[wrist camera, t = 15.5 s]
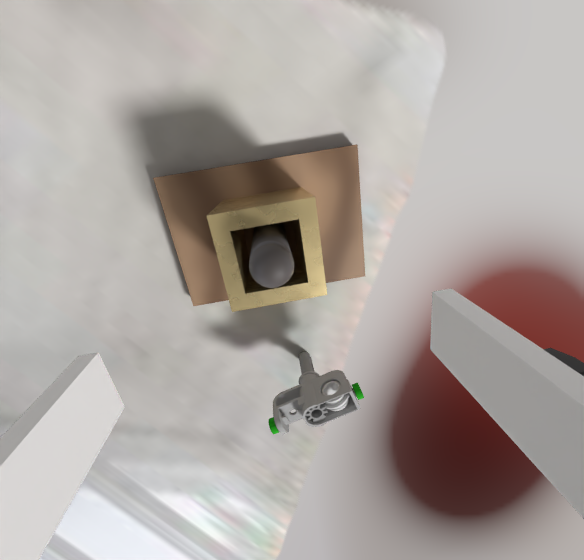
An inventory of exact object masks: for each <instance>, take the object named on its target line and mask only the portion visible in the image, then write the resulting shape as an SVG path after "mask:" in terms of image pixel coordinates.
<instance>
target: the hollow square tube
mask: <svg viewBox="0 0 584 560" xmlns="http://www.w3.org/2000/svg"><path fill="white" fill-rule="evenodd" d="M207 220H208V223H209V227H210V231H211V235H212V238H213V242H214V246H215V250H216V253H217V257H218V261H219V265H220V268H221V272H222V276H223V280H224V283H225V287H226V291H227V295H228V298H229V302H230V306H231V310H232V312H235V311H240V310H246V309H251V308H257V307H263V306H268V305H274V304H279V303H285V302H290V301H296V300H301V299H307V298H312V297H318V296H323V295H327V289H326V281H325V273H324V265H323V257H322V248H321V240H320V232H319V224H318V216H317V208H316V199H315V196H313V195H312V194H310V193H309V192H307V191H306V190H304V189H303V188H302V187H298V188H292V189H286V190H280V191H275V192H269V193H263V194H257V195H251V196H245V197H240V198H234V199H228V200H222V201H221V202H220V203H219V204H218V205H217V206H216V207H215V208H214V209H213V210H212V211H211V212H210V213H209V214H208V215H207ZM286 221H292V223H293V230H294V236H295V243H296V249H297V251H296V252H291V253H292V257H293V260H294V271H293V274H292V276H291V278H290V279H289V280H288V281H287V282H286V283H285V284H284V285H282V286H279V287H276V288H267V287H264V286H262V285H260V284H258V283H257V282H256V281H255V280H254V279H253V277H252V275H251V273H250V269H249V261H250V257H249V253H248V248H247V244H246V239H245V235H244V230H243V229H246V228H252V227H257V226H263V225H269V224H274V223H280V222H286Z"/></svg>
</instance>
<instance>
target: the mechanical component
mask: <svg viewBox="0 0 584 560" xmlns="http://www.w3.org/2000/svg"><path fill="white" fill-rule="evenodd" d="M299 361H300V366H301V372H302V375H301V376H300V378H299V385H298V386H295V387H293V388H291V389H288V390H286V391H283V392H281V393H279V394H278V395H277V396H276V397H275V399H274V401H273V416H274V417H273V418H270V419H269V426H270V429H271V432H272V433H273V434H276V433H278V432H280V433H281V434H282V435H283V434H285V433H288V432H289V424H290V423H292V422H295V421H297V420H300V419H302V418H303V419H304V420H305V422H306V424H307V425H309V426H313V427H318V426H322V425H324V424H326V423H327V422H329V421H331V420H334V419H336V418H339V417H341V416H344V415H346V414H349V413H351V412H354V411H356V410H358V409H360V406H359V403H358V401H357V399H356V397H357V398H358V400H359V399H362V398H364V396H363V394H362V391H361V389H360V387H359V385H358V383H355V384H353V385H352V386H353V388H351V386H350V384H349V381H348V380H347V379H346V377H345V375H344V373H343V372H342V371H340V370H334V371H331V372H329V373H326V374H324V375H322V376H319V374H317V373H316V372H314V368H313V364H312V360H311V357H310V356H309V353H308V352H302V353H300V355H299ZM345 406H346V407H345ZM344 407H345V408H344ZM343 408H344V409H343ZM293 409H295V410H296V412H295V413H291V412H290V411H291V410H293ZM341 409H343V410H341ZM338 410H340V411H338Z"/></svg>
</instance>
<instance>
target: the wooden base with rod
mask: <svg viewBox="0 0 584 560" xmlns="http://www.w3.org/2000/svg"><path fill="white" fill-rule="evenodd" d="M153 179H154V182H155V185H156V188H157V192H158V195H159V198H160V201H161V204H162V207H163V211H164V214H165V217H166V220H167V223H168V226H169V230H170V233H171V236H172V239H173V242H174V245H175V249H176V252H177V255H178V258H179V261H180V265H181V268H182V271H183V274H184V277H185V280H186V284H187V287H188V290H189V293H190V296H191V299H192V303H193V306H197V305H203V304H209V303H214V302H220V301H226V300H229V298H228V295H227V291H226V287H225V283H224V280H223V276H222V272H221V268H220V265H219V261H218V257H217V253H216V250H215V246H214V242H213V238H212V235H211V231H210V227H209V223H208V220H207V215H208V214H209V213H210V212H211V211H212V210H213V209H214V208H215V207H216V206H217V205H218V204H219V203H220V202H221V201H222V200H228V199H234V198H240V197H245V196H251V195H257V194H263V193H269V192H275V191H280V190H286V189H292V188H298V187H302V188H303V189H304V190H306V191H307V192H309V193H310V194H312V195H313V196H315V199H316V208H317V216H318V224H319V232H320V240H321V248H322V257H323V265H324V273H325V281H326V283H328V282H334V281H340V280H345V279H351V278H357V277H362V276H365V265H364V248H363V232H362V215H361V198H360V181H359V165H358V148H357V145H352V146H345V147H339V148H333V149H327V150H321V151H315V152H309V153H303V154H297V155H290V156H284V157H278V158H272V159H266V160H260V161H254V162H248V163H242V164H235V165H229V166H223V167H217V168H211V169H205V170H199V171H193V172H187V173H180V174H174V175H168V176H162V177H156V178H153ZM243 230H244V235H245V239H246V244H247V248H248V253H249V257H250V261H249V269H250V273H251V275H252V277H253V279H254V280H255V281H256V282H257V283H258V284H260V285H262V286H264V287H267V288H276V287H279V286H282V285H284V284H285V283H286V282H287V281H288V280H289V279H290V278H291V276H292V274H293V271H294V260H293V257H292V253H291V252H296V251H297V249H296V243H295V236H294V230H293V223H292V221H286V222H280V223H274V224H269V225H263V226H257V227H252V228H246V229H243Z"/></svg>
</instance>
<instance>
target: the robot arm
mask: <svg viewBox="0 0 584 560" xmlns="http://www.w3.org/2000/svg"><path fill="white" fill-rule="evenodd" d="M430 349H431V350H432V352H433V353H434V354H435V355H436V356H437V357H438V358H439V359H440V361H441V362H442V363H443V364H444V365H445V366H446V367H447V368H448V369H449V370H450V372H451V373H452V374H453V375H454V376H455V377H456V378H457V379H458V380H459V382H460V383H461V384H462V385H463V386H464V387H465V388H466V389H467V390H468V391H469V393H470V394H471V395H472V396H473V397H474V398H475V399H476V400H477V401H478V403H479V404H480V405H481V406H482V407H483V408H484V409H485V410H486V411H487V412H488V413H489V415H490V416H491V417H492V418H493V419H494V420H495V421H496V422H497V424H498V425H499V426H500V427H501V428H502V429H503V430H504V431H505V432H506V434H507V435H508V436H509V437H510V438H511V439H512V440H513V441H514V442H515V443H516V445H517V446H518V447H519V448H520V449H521V450H522V451H523V452H524V453H525V455H526V456H527V457H528V458H529V459H530V460H531V461H532V462H533V463H534V464H535V466H536V467H537V468H538V469H539V470H540V471H541V472H542V473H543V474H544V476H545V477H546V478H547V479H548V480H549V481H550V482H551V483H552V484H553V486H555V488H556V489H557V490H558V491H559V492H560V493H561V494H562V495H563V496H564V498H565V499H566V500H567V501H568V502H569V503H570V504H571V505H572V507H573V508H574V509H576V511H577V512H578V513H579V514H580V515H581V516H582V518H583V519H584V363H583V362H581V361H579V360H578V359H576V358H575V357H572V356H570V355H567V354H565V353H562V352H560V351H557V350H554V349H552V348H548V349H542V348H540V347H539V346H537V345H536V344H534V343H533V342H531V341H529V340H528V339H526V338H525V337H524V336H522V335H521V334H519V333H518V332H516V331H515V330H513V329H512V328H510V327H508V326H507V325H505V324H504V323H502V322H501V321H499V320H498V319H496V318H495V317H493V316H492V315H490V314H489V313H487V312H486V311H484V310H483V309H481V308H480V307H478V306H477V305H475V304H474V303H472V302H471V301H469V300H468V299H466V298H465V297H463V296H462V295H460V294H459V293H457V292H456V291H454V290H453V289H445V290H440V291H434V292H432V318H431V347H430ZM124 407H125V406H124V404H123V402H122V400H121V398H120V396H119V394H118V392H117V390H116V388H115V386H114V384H113V382H112V379H111V377H110V375H109V373H108V371H107V369H106V367H105V365H104V363H103V361H102V359H101V357H100V355H99V353H93V354H87V355H82V356H78V357H77V358H76V359H75V360H74V361H73V362H72V363H71V364H70V365H69V366H68V367H67V368H66V369H65V370H64V372H63V373H62V374H61V375H60V376H59V377H58V378H57V379H56V380H55V381H54V382H53V383H52V384H51V385H50V386H49V387H48V388H47V389H46V390H45V392H44V393H43V394H42V395H41V396H40V397H39V398H38V399H37V400H36V401H35V402H34V403H33V404H32V405H31V406H30V407H29V408H28V409H27V411H26V412H25V413H24V414H23V415H22V416H21V417H20V418H19V419H18V420H17V421H16V422H15V423H14V424H13V425H12V426H11V427H10V428H9V429H8V431H7V432H6V433H5V434H4V435H3V436H2V437H1V438H0V560H39V559H40V557H41V555H42V553H43V552H44V550H45V548H46V546H47V545H48V543H49V541H50V539H51V537H52V536H53V534H54V532H55V530H56V529H57V527H58V525H59V523H60V521H61V520H62V518H63V516H64V514H65V512H66V511H67V509H68V507H69V505H70V504H71V502H72V500H73V498H74V496H75V495H76V493H77V491H78V489H79V488H80V486H81V484H82V482H83V480H84V479H85V477H86V475H87V473H88V471H89V470H90V468H91V466H92V464H93V463H94V461H95V459H96V457H97V455H98V454H99V452H100V450H101V448H102V446H103V445H104V443H105V441H106V439H107V438H108V436H109V434H110V432H111V430H112V429H113V427H114V425H115V423H116V422H117V420H118V418H119V416H120V414H121V413H122V411H123V409H124Z"/></svg>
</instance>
